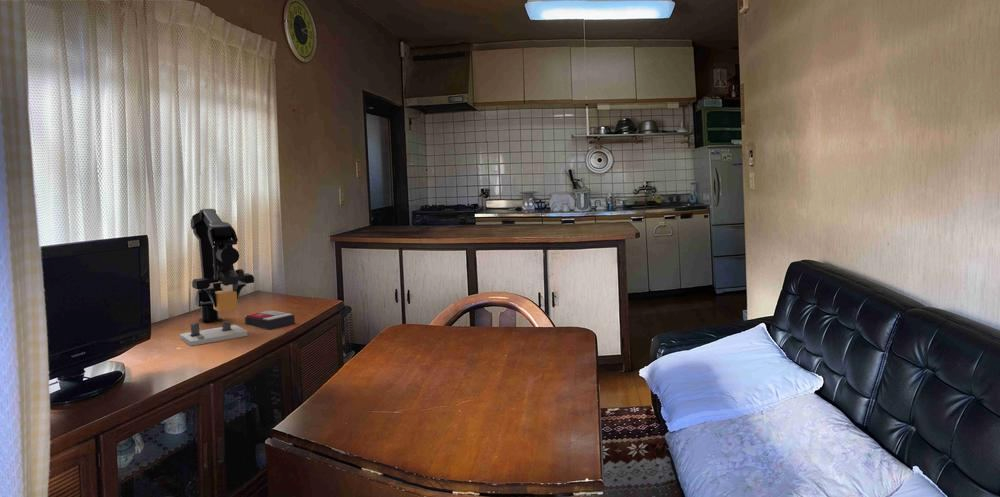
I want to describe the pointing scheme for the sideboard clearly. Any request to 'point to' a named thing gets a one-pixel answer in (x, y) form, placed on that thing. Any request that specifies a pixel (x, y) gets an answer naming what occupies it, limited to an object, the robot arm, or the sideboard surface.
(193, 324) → the breaker
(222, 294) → the light orange cube
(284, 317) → the calculator
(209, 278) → the robot arm
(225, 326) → the lever
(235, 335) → the panel
